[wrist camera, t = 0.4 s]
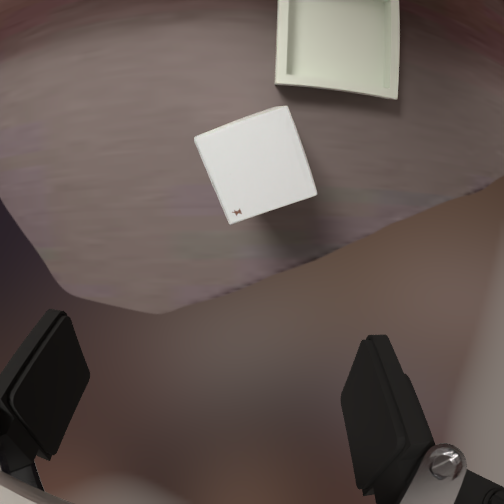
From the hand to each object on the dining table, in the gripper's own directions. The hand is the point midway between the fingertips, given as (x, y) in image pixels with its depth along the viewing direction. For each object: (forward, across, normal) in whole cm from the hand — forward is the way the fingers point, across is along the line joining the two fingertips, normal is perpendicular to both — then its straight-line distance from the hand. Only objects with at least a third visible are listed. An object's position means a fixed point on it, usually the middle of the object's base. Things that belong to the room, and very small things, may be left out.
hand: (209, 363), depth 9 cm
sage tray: (+28, -9, -16) cm, 34 cm away
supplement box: (+29, -1, -2) cm, 29 cm away
